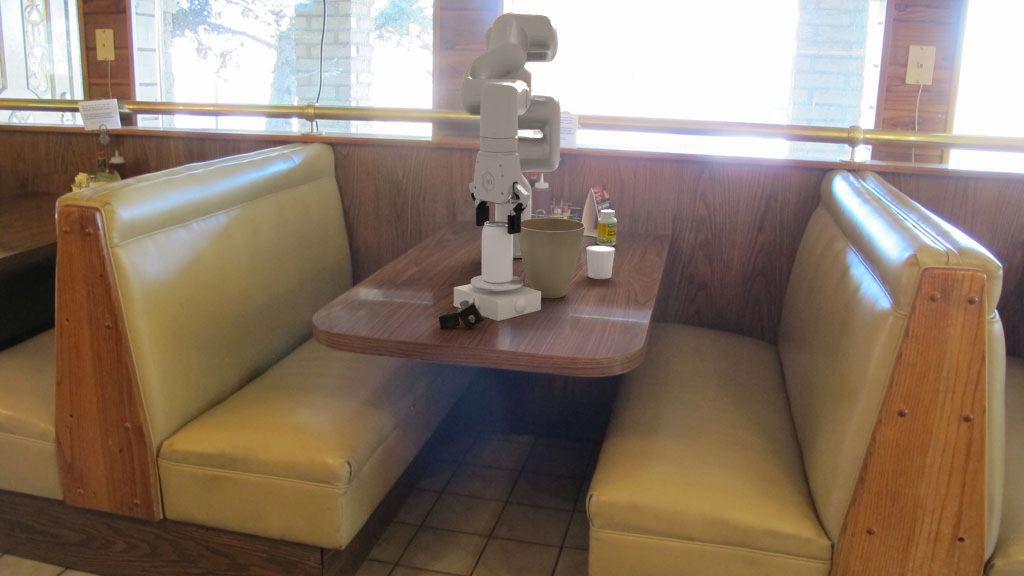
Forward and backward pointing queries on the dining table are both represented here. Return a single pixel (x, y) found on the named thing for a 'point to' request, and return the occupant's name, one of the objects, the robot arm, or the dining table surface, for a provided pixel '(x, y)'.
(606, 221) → the supplement bottle
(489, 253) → the can
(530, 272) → the plant pot
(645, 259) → the dining table surface
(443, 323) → the lighter
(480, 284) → the scale pan
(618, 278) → the dining table surface
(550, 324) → the dining table surface
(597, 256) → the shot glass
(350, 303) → the dining table surface
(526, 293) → the scale housing
